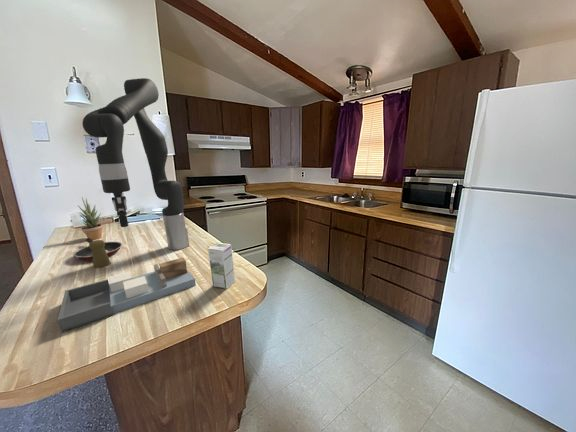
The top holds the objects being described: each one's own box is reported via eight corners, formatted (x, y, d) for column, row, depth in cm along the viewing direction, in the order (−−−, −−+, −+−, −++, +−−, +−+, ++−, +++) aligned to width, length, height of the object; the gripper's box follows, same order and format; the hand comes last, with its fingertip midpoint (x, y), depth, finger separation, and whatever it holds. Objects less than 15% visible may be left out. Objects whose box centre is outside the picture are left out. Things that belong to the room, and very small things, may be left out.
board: (183, 269, 97) (182, 263, 96) (195, 285, 84) (194, 278, 84) (110, 290, 83) (108, 284, 82) (112, 313, 70) (110, 306, 70)
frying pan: (79, 267, 102) (77, 259, 101) (65, 250, 122) (63, 243, 121) (129, 252, 116) (127, 245, 115) (109, 239, 136) (108, 233, 135)
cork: (101, 268, 100) (95, 243, 97) (89, 267, 101) (83, 243, 98) (114, 262, 105) (108, 238, 102) (103, 261, 106) (97, 238, 104)
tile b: (131, 279, 85) (129, 271, 84) (133, 285, 80) (131, 277, 80) (110, 284, 82) (108, 276, 81) (111, 292, 77) (109, 284, 76)
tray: (110, 289, 83) (107, 279, 82) (112, 315, 70) (109, 303, 68) (68, 301, 77) (65, 290, 76) (62, 332, 63) (57, 319, 62)
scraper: (181, 264, 95) (179, 253, 94) (191, 278, 84) (189, 265, 83) (155, 272, 89) (152, 259, 88) (162, 287, 79) (160, 273, 77)
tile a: (146, 284, 81) (144, 276, 81) (148, 291, 77) (147, 283, 76) (125, 290, 78) (123, 282, 77) (126, 298, 73) (124, 289, 72)
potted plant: (91, 236, 143) (81, 195, 136) (108, 235, 144) (99, 194, 137) (79, 242, 133) (67, 198, 127) (97, 240, 134) (87, 197, 128)
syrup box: (235, 281, 86) (232, 243, 82) (226, 289, 81) (222, 249, 77) (222, 278, 88) (217, 241, 84) (212, 287, 83) (207, 248, 79)
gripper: (128, 178, 77) (138, 226, 81) (126, 175, 88) (135, 218, 92) (99, 180, 73) (111, 231, 77) (101, 177, 84) (111, 222, 88)
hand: (124, 224), depth 84 cm, fingers open, 8 cm apart
